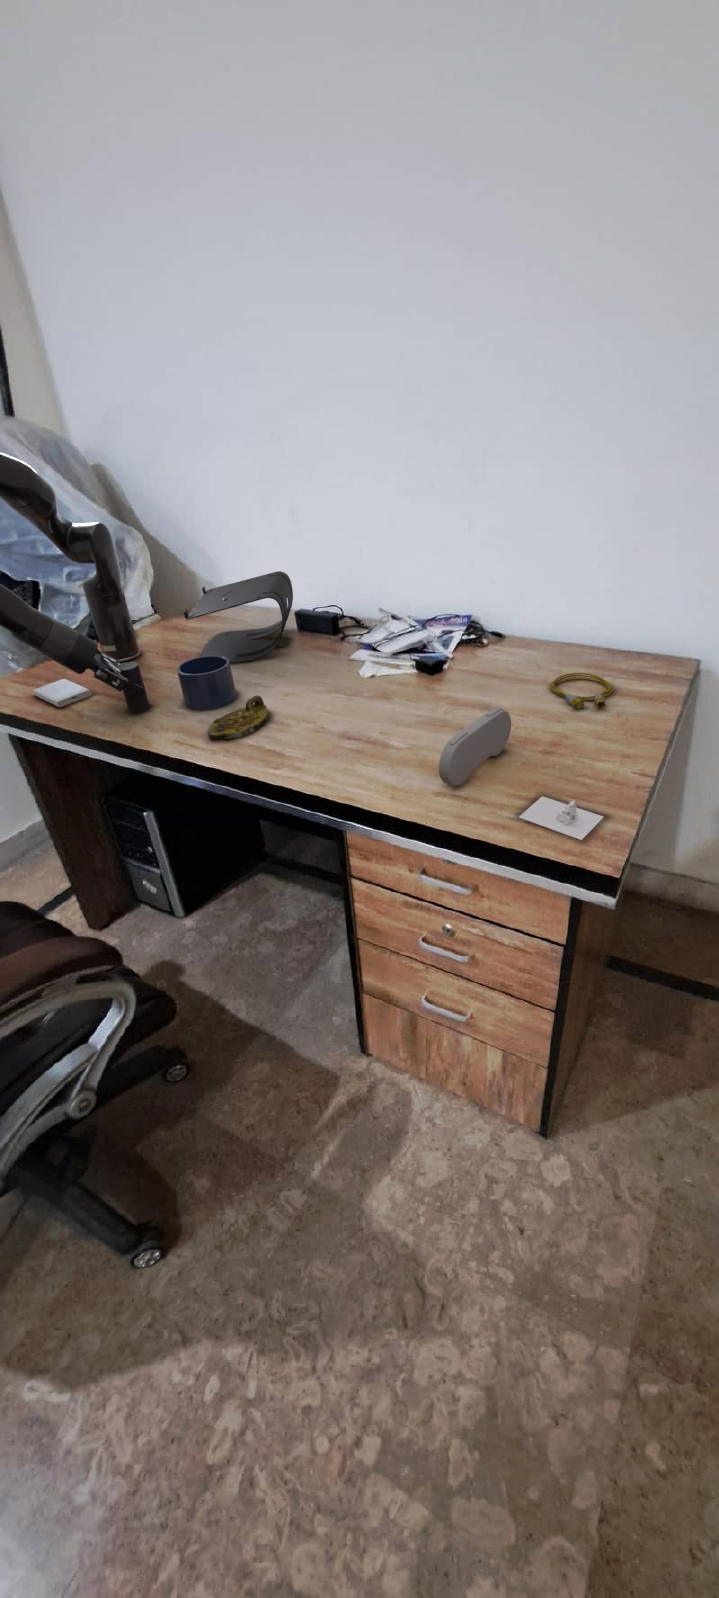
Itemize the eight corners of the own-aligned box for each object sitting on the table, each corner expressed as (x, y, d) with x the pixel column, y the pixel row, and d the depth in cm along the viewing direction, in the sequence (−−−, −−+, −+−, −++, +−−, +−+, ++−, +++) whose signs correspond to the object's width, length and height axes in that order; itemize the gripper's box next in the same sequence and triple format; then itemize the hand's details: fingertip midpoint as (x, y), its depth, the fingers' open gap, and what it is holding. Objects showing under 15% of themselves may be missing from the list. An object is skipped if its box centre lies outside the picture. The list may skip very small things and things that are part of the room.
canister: (127, 707, 148) (114, 664, 143) (148, 702, 150) (136, 660, 144) (130, 715, 145) (117, 671, 139) (151, 710, 146) (139, 666, 141)
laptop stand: (288, 659, 165) (279, 596, 157) (193, 667, 166) (179, 604, 158) (298, 626, 187) (290, 569, 178) (214, 632, 188) (202, 576, 180)
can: (180, 696, 151) (172, 662, 147) (229, 684, 155) (222, 651, 150) (190, 714, 142) (182, 679, 138) (241, 701, 146) (235, 666, 141)
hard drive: (32, 689, 158) (56, 701, 151) (65, 677, 163) (90, 688, 155) (34, 696, 159) (59, 708, 151) (67, 684, 164) (92, 695, 156)
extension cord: (538, 705, 132) (539, 695, 131) (560, 675, 143) (560, 666, 142) (602, 713, 127) (603, 704, 126) (620, 682, 138) (621, 672, 137)
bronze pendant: (229, 751, 129) (281, 719, 138) (226, 729, 126) (280, 698, 136) (195, 736, 133) (248, 706, 143) (192, 715, 130) (246, 686, 140)
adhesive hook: (570, 827, 97) (572, 809, 96) (553, 821, 99) (555, 803, 97) (580, 817, 99) (582, 800, 97) (563, 812, 101) (565, 794, 99)
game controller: (499, 742, 121) (500, 699, 116) (510, 745, 119) (512, 702, 115) (437, 790, 109) (436, 745, 104) (449, 794, 107) (448, 748, 103)
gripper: (79, 641, 129) (154, 683, 139) (74, 622, 140) (144, 662, 150) (59, 673, 130) (134, 712, 140) (56, 652, 142) (126, 690, 151)
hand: (139, 686), depth 145 cm, fingers open, 8 cm apart
